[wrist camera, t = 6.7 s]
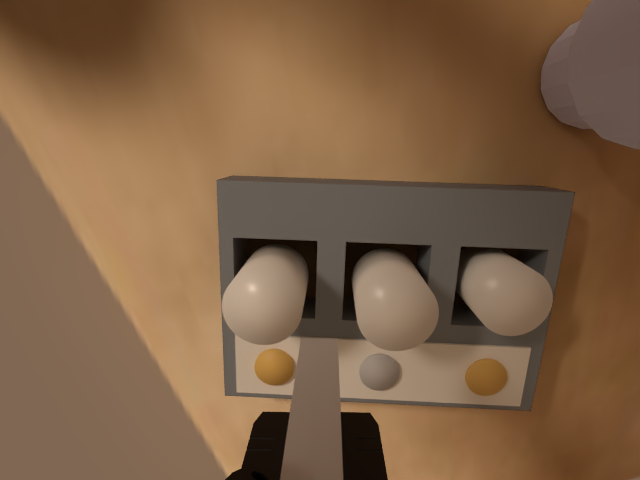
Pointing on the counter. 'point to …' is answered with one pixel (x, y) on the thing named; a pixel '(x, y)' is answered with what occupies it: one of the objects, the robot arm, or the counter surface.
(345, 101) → the counter surface
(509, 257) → the button
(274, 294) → the button
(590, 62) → the soap bottle
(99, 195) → the counter surface
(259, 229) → the board
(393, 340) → the button
